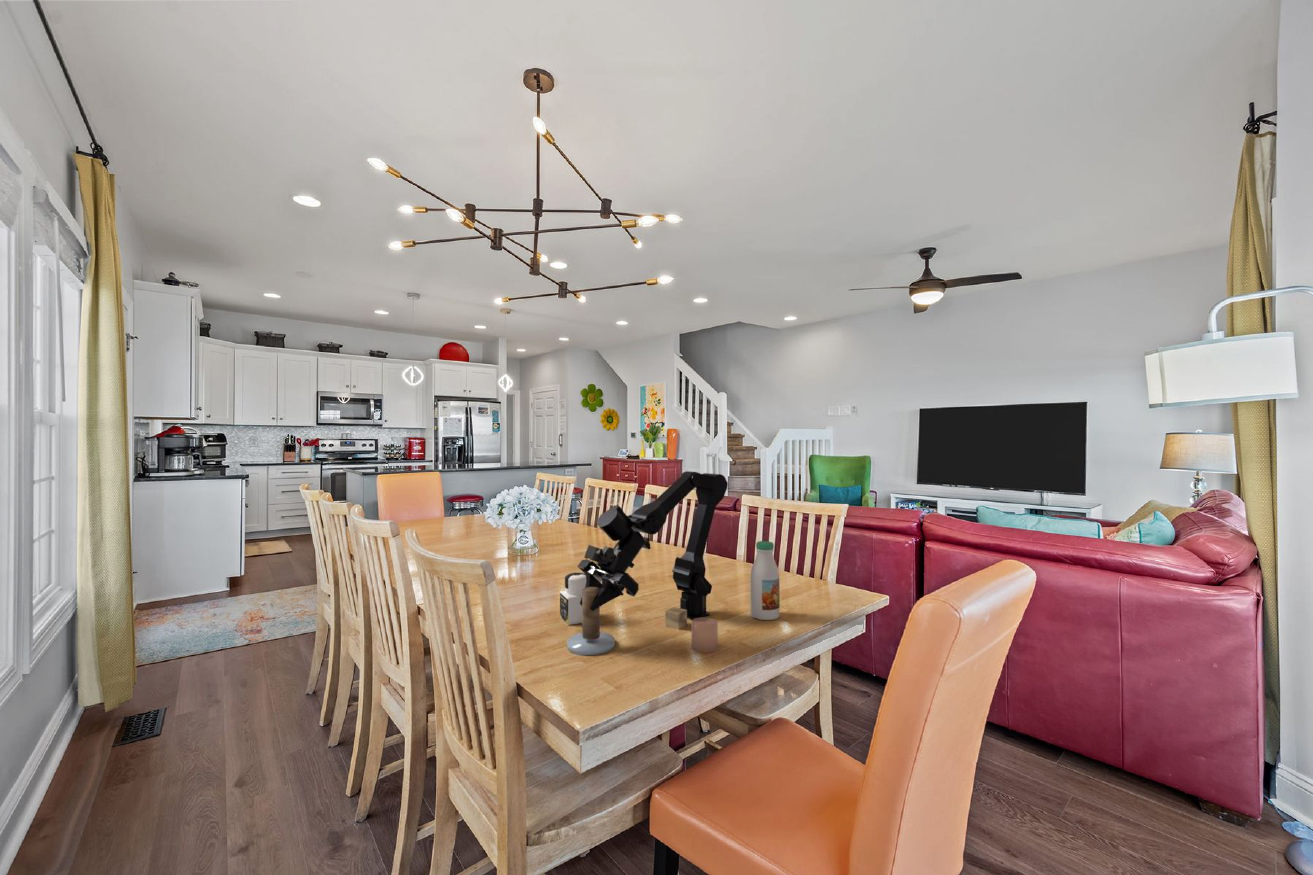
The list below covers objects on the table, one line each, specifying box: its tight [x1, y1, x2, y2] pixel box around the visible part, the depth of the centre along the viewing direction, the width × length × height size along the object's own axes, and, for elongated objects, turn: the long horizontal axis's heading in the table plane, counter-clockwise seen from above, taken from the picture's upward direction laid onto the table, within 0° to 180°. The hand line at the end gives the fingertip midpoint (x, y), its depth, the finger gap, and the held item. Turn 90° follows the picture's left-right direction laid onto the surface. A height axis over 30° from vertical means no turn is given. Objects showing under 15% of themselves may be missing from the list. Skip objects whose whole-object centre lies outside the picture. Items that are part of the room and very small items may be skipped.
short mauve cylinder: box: [691, 616, 719, 654], centre depth 121 cm, size 6×6×6 cm
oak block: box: [664, 606, 688, 630], centre depth 135 cm, size 4×4×4 cm
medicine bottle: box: [559, 572, 586, 626], centre depth 140 cm, size 7×7×12 cm
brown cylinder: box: [581, 587, 601, 640], centre depth 122 cm, size 4×4×11 cm
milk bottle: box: [749, 540, 781, 621], centre depth 142 cm, size 8×8×20 cm
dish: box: [566, 631, 616, 656], centre depth 122 cm, size 11×11×1 cm
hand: (586, 607), depth 122 cm, fingers closed on brown cylinder, 4 cm apart
